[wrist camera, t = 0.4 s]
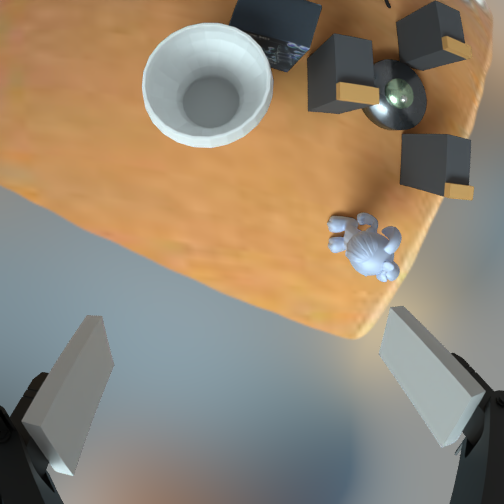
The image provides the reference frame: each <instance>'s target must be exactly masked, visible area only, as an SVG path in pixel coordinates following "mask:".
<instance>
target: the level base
mask: <svg viewBox="0 0 504 504" xmlns="http://www.w3.org/2000/svg"><path fill="white" fill-rule="evenodd" d="M373 68H374V87H375V88H379V104H378V105H373V106H369V107H365V108H362V110H363V112H364V113H365V115H366V116H367V117H368V118H369V119H370V120H371V121H372V122H373V123H374V124H376V125H377V126H379V127H381V128H383V129H387V130H407V129H410V128H413V127H414V126H416V125H417V124H418V123H419V122H420V121H421V120H422V118H423V116H424V114H425V111H426V105H427V99H426V93H425V89H424V86H423V84H422V82H421V80H420V78H419V77H418V75H417V74H416V73H415V72H414V71H413V70H412V69H411V68H410V67H409V66H407V65H406V64H404V63H402V62H400V61H397V60H390V59H387V60H382V61H379V62H377V63H375V64H373Z"/></svg>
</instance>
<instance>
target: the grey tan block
mask: <svg viewBox="0 0 504 504" xmlns="http://www.w3.org/2000/svg"><path fill="white" fill-rule="evenodd" d="M307 68H308V111H311V112H324V113H335V114H340V113H344V112H348V111H352V110H356V109H360V108H365V107H369V106H373V105H378V104H379V88H375V87H374V68H373V51H372V41H370V40H366V39H361V38H356V37H351V36H346V35H340V34H333V35H332V36H331V37H330V38H329V39H328V40H327V41H326V42H324V43H323V44H322V45H321V46H320V47H319V48H318V49H317V50H316V51H315V52H314V53H313V54H312V55H311V56H310V57H309V58H308V59H307Z"/></svg>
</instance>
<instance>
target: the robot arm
mask: <svg viewBox="0 0 504 504" xmlns="http://www.w3.org/2000/svg"><path fill="white" fill-rule="evenodd" d="M379 355H380V357H381V358H382V360H383V361H384V362H385V364H386V365H387V367H388V368H389V370H390V371H391V373H392V374H393V375H394V377H395V378H396V380H397V381H398V383H399V384H400V386H401V387H402V389H403V390H404V392H405V393H406V395H407V396H408V397H409V399H410V400H411V402H412V403H413V405H414V406H415V408H416V409H417V411H418V413H419V414H420V416H421V417H422V418H423V420H424V422H425V423H426V425H427V426H428V428H429V429H430V431H431V432H432V434H433V435H434V437H435V439H436V440H437V442H438V443H439V445H440V446H441V448H442V447H445V446H447V445H449V444H452V443H454V442H456V441H457V439H458V437H459V436H460V434H461V433H462V432H463V433H464V435H465V436H466V437H465V439H464V440H463V442H462V443H461V445H460V446H459V447H458V449H457V450H456V452H455V455H457V454H458V453H459V451H460V450H461V455H460V461H459V466H458V471H457V475H456V480H455V485H454V489H453V493H452V497H451V500H450V504H504V391H500V390H499V391H495V392H494V391H493V390H492V389H491V388H490V387H489V385H488V384H487V383H486V382H485V381H484V380H483V379H482V378H481V377H480V376H479V375H478V374H477V373H475V371H474V370H473V369H472V367H469V364H468V363H467V362H466V361H465V360H464V359H463V358H462V357H460V356H458V355H456V354H455V353H450V352H449V351H448V350H447V349H446V348H445V347H444V346H443V345H442V344H441V343H440V342H439V341H438V340H437V339H436V338H435V337H434V336H433V335H432V334H431V333H430V332H429V331H428V330H427V329H426V328H425V327H424V326H423V325H422V324H421V323H420V322H419V321H418V320H417V319H416V318H415V317H414V316H413V315H412V314H411V313H410V312H409V311H408V310H407V309H406V308H405V307H404V306H398V307H390V310H389V315H388V319H387V324H386V328H385V332H384V336H383V340H382V344H381V347H380V351H379ZM113 367H114V362H113V359H112V355H111V352H110V347H109V343H108V340H107V335H106V331H105V327H104V323H103V318H102V316H91V315H87V316H86V318H85V319H84V321H83V322H82V323H81V325H80V326H79V328H78V329H77V331H76V332H75V334H74V335H73V337H72V338H71V340H70V341H69V343H68V344H67V346H66V347H65V349H64V351H63V352H62V354H61V355H60V357H59V358H58V360H57V361H56V363H55V365H54V366H53V368H52V369H51V371H50V373H45V372H42V373H40V374H39V375H38V376H37V377H35V378H34V379H33V380H32V382H31V384H30V385H29V387H28V390H26V391H25V393H24V395H23V397H22V398H21V399H20V401H19V403H18V405H17V406H16V408H15V410H14V411H13V413H12V415H11V416H10V417H9V415H8V414H7V412H6V410H5V409H4V408H3V407H2V406H0V504H64V503H63V501H62V500H61V498H60V496H59V494H58V492H57V490H56V488H55V485H54V483H53V482H52V479H51V477H50V475H49V473H48V472H47V471H46V469H47V466H48V463H50V465H51V466H52V467H53V469H54V470H55V471H56V472H60V473H64V474H68V475H72V476H74V473H75V470H76V467H77V464H78V461H79V458H80V455H81V452H82V449H83V446H84V443H85V440H86V437H87V435H88V432H89V429H90V426H91V423H92V420H93V418H94V415H95V413H96V409H97V407H98V405H99V402H100V399H101V397H102V394H103V392H104V389H105V386H106V384H107V382H108V379H109V376H110V374H111V372H112V369H113Z"/></svg>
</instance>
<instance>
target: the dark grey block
mask: <svg viewBox="0 0 504 504" xmlns="http://www.w3.org/2000/svg"><path fill="white" fill-rule="evenodd" d="M470 153H471V140H469V139H465V138H461V137H457V136H453V135H448V134H402V154H401V175H400V184H401V185H405V186H409V187H412V188H416V189H419V190H423V191H427V192H430V193H434V194H437V195H440V196H444V197H447V198H452V199H463V200H473V192H474V187H473V186H469V172H470Z"/></svg>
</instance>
